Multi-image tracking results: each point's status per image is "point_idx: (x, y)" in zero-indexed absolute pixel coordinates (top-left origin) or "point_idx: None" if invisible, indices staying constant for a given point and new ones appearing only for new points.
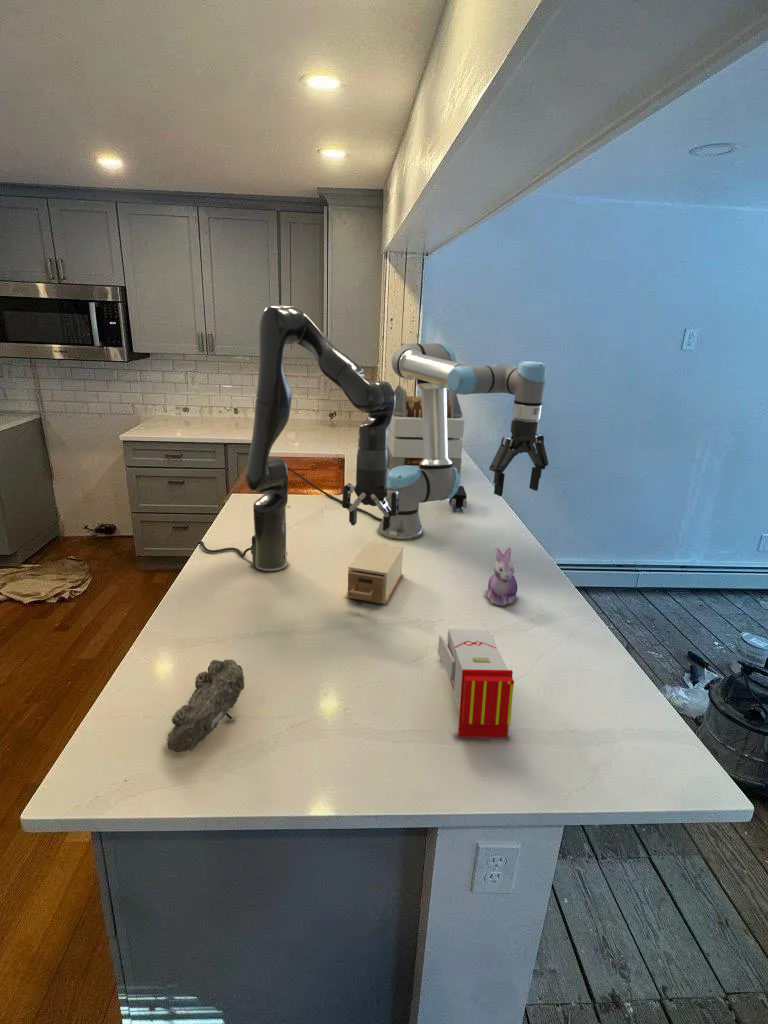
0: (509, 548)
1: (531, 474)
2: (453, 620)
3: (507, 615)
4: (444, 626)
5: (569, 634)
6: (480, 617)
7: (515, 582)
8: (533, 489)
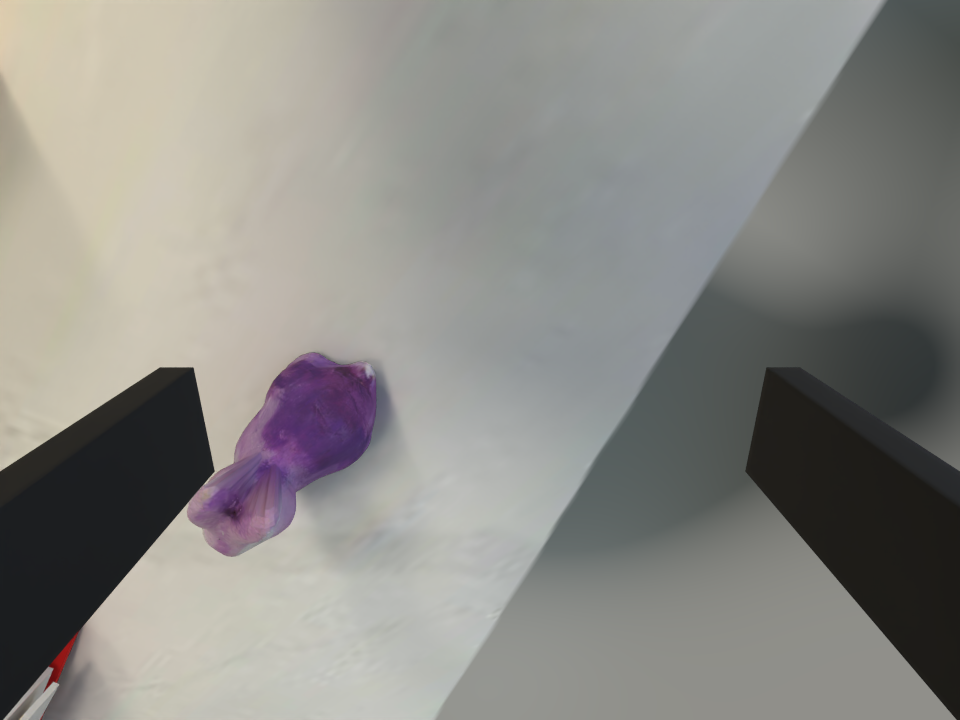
0: (255, 535)
1: (908, 479)
2: None
3: None
4: None
5: (383, 626)
6: None
7: (342, 467)
8: (754, 439)
